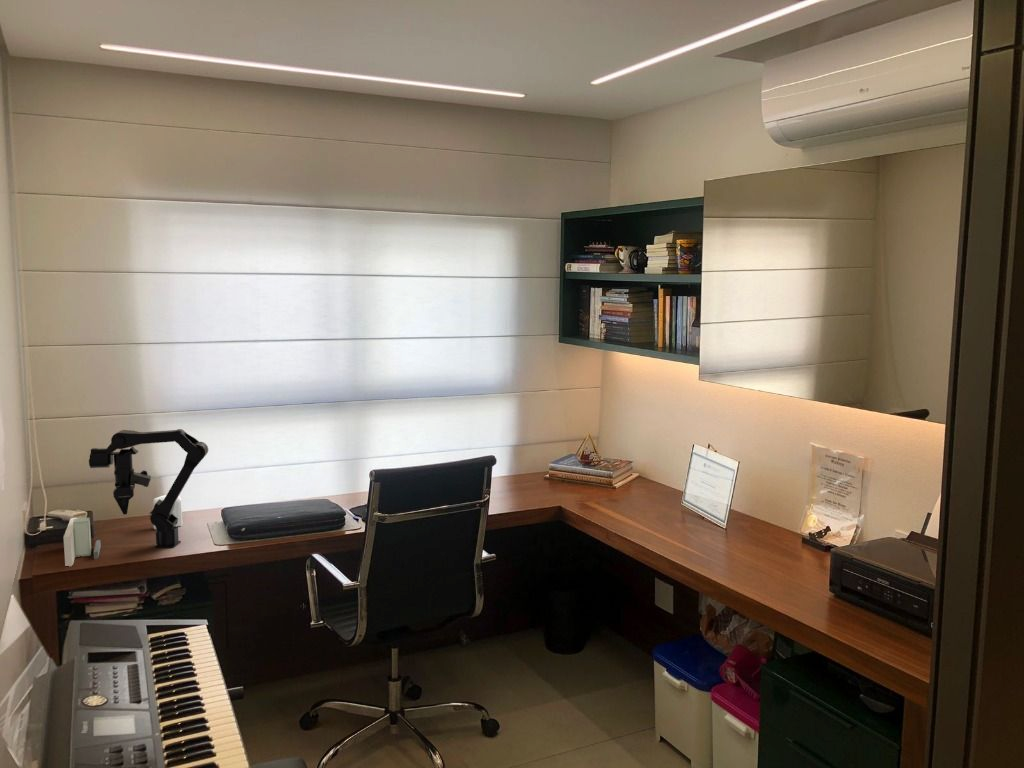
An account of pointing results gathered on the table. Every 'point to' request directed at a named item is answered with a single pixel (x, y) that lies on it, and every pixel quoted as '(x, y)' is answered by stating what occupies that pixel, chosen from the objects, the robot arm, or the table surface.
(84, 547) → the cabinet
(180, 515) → the photo printer
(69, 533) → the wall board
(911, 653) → the table surface
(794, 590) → the table surface
